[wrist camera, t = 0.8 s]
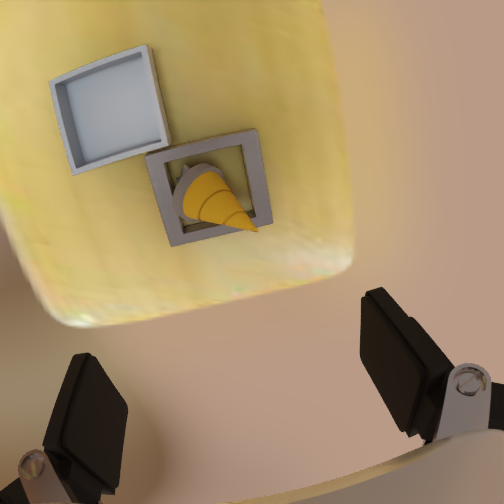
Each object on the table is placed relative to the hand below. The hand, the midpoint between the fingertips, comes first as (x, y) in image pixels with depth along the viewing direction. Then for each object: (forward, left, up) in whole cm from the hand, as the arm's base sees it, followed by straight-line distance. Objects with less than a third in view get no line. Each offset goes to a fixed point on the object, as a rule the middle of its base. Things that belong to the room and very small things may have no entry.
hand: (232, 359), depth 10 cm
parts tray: (-9, -7, -22) cm, 25 cm away
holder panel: (0, 0, -22) cm, 22 cm away
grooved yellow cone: (0, 0, -22) cm, 22 cm away
